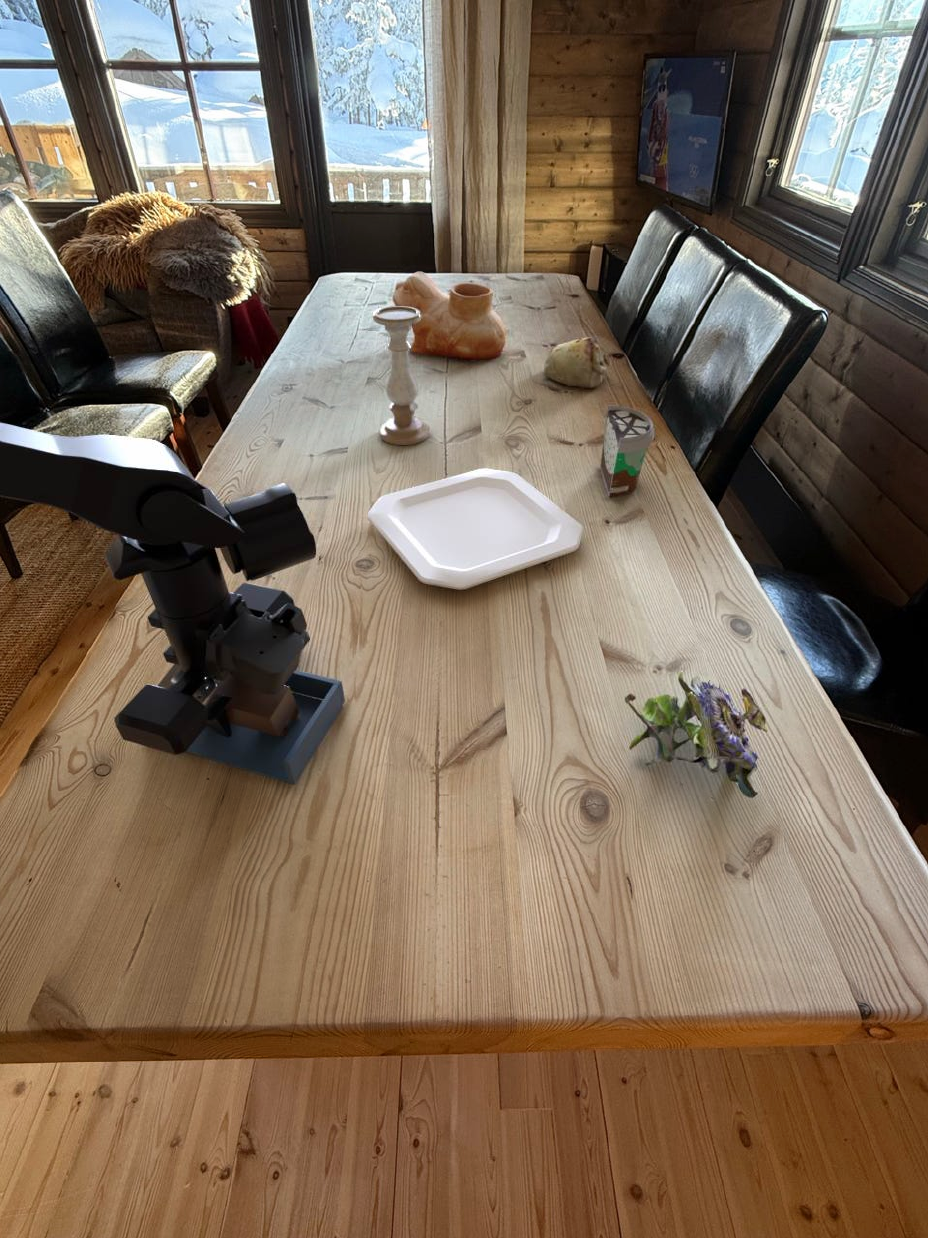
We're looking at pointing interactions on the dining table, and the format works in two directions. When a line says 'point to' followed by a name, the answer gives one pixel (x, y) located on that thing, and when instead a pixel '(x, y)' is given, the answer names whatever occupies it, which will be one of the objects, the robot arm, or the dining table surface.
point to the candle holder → (401, 378)
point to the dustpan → (279, 753)
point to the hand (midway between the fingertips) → (237, 721)
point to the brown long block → (251, 704)
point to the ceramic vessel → (452, 319)
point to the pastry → (576, 363)
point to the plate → (473, 528)
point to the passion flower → (704, 729)
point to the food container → (624, 448)
